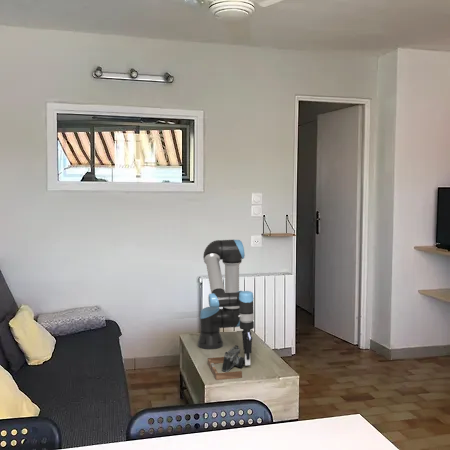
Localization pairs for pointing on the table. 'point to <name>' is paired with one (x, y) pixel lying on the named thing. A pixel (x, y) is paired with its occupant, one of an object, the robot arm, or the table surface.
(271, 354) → the table surface
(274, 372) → the table surface
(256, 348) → the table surface
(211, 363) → the dock
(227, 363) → the camera
